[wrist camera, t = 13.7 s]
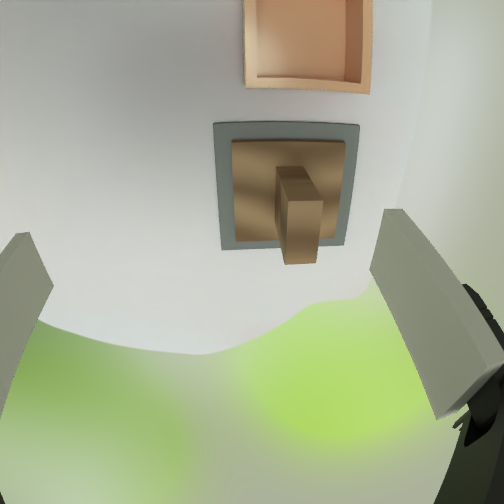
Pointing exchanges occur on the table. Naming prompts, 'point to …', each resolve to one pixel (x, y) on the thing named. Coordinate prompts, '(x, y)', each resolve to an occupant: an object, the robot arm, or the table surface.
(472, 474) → the robot arm
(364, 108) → the table surface
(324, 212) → the lid
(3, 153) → the table surface
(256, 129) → the mat
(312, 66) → the open tan tray
